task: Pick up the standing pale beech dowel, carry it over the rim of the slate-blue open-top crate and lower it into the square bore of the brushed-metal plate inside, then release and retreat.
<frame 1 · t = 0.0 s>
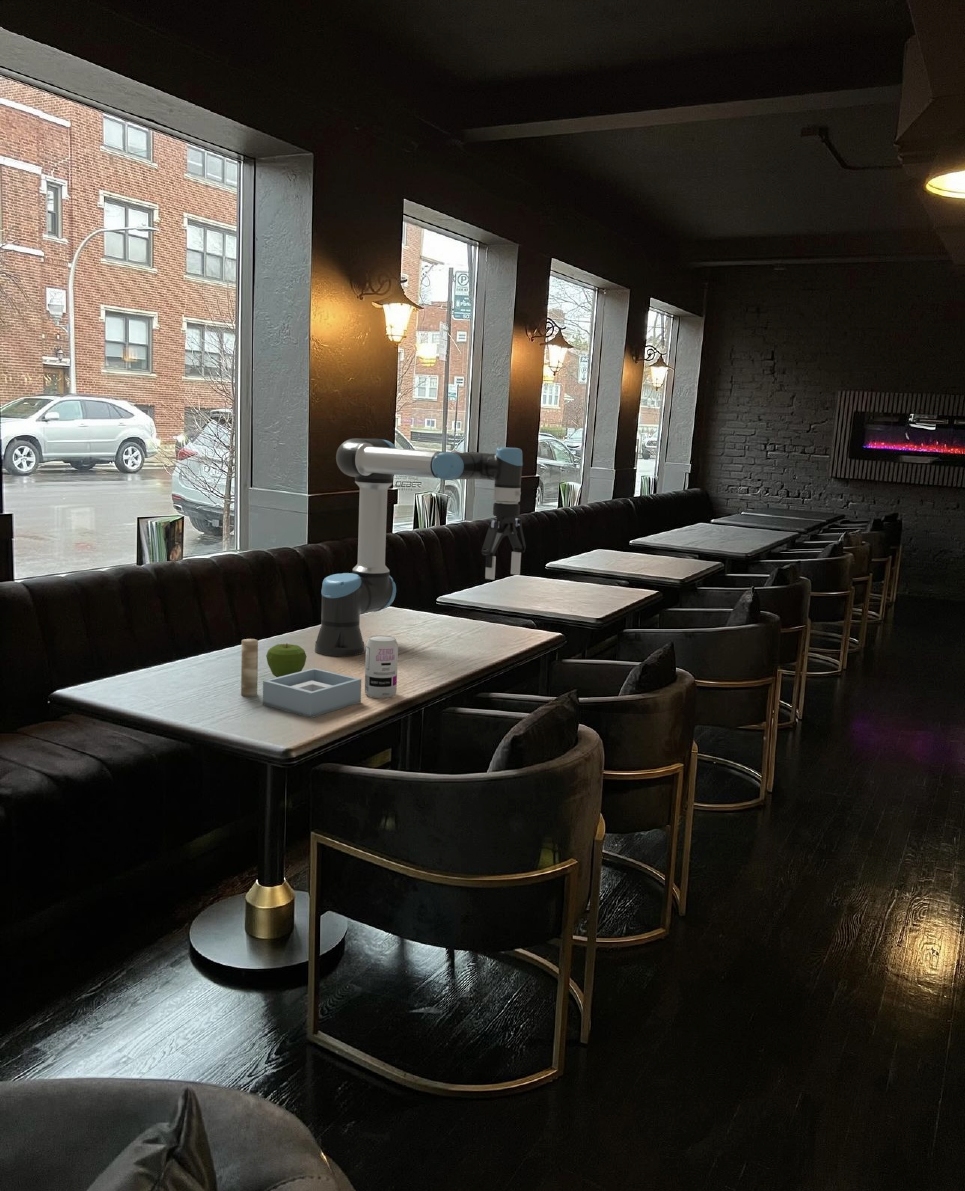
hand: (502, 576, 276), 28 cm above the table, fingers open, 13 cm apart
apple: (286, 679, 261), on the table
peg: (249, 694, 245), on the table
crate: (312, 703, 240), on the table
supplement can: (380, 695, 251), on the table
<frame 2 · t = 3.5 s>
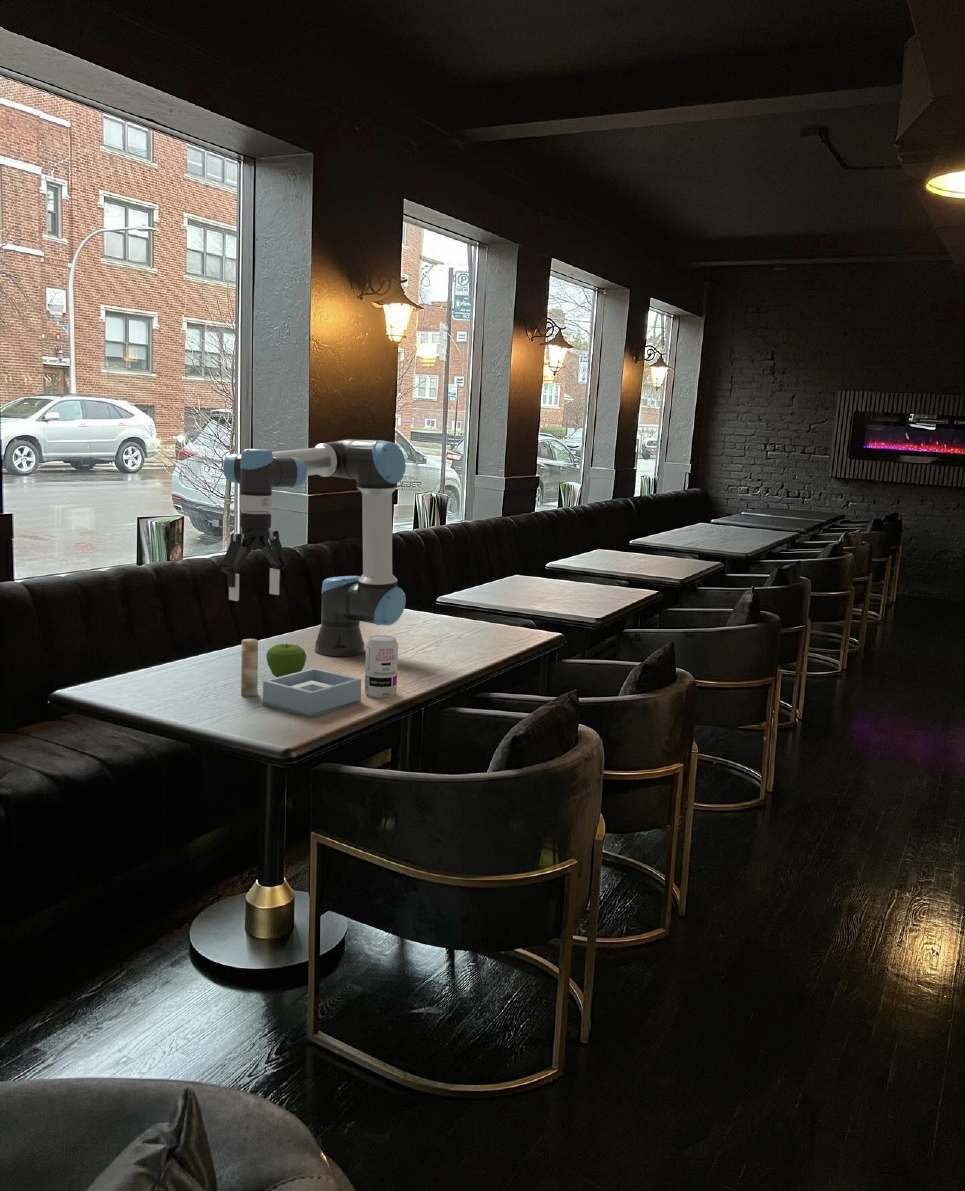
hand: (254, 597, 241), 25 cm above the table, fingers open, 13 cm apart
nothing on the table moved.
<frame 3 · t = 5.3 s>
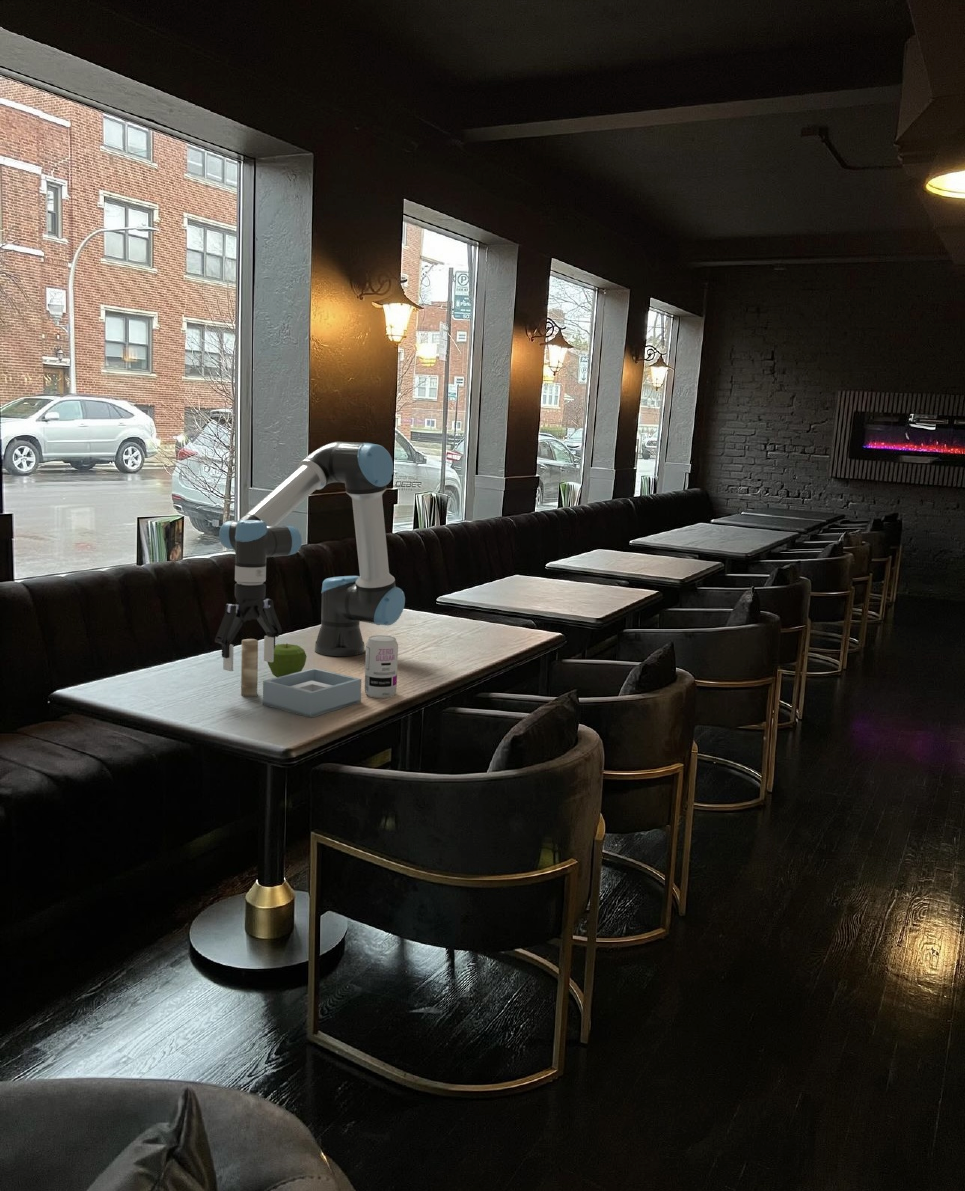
hand: (248, 665, 243), 8 cm above the table, fingers open, 13 cm apart
nothing on the table moved.
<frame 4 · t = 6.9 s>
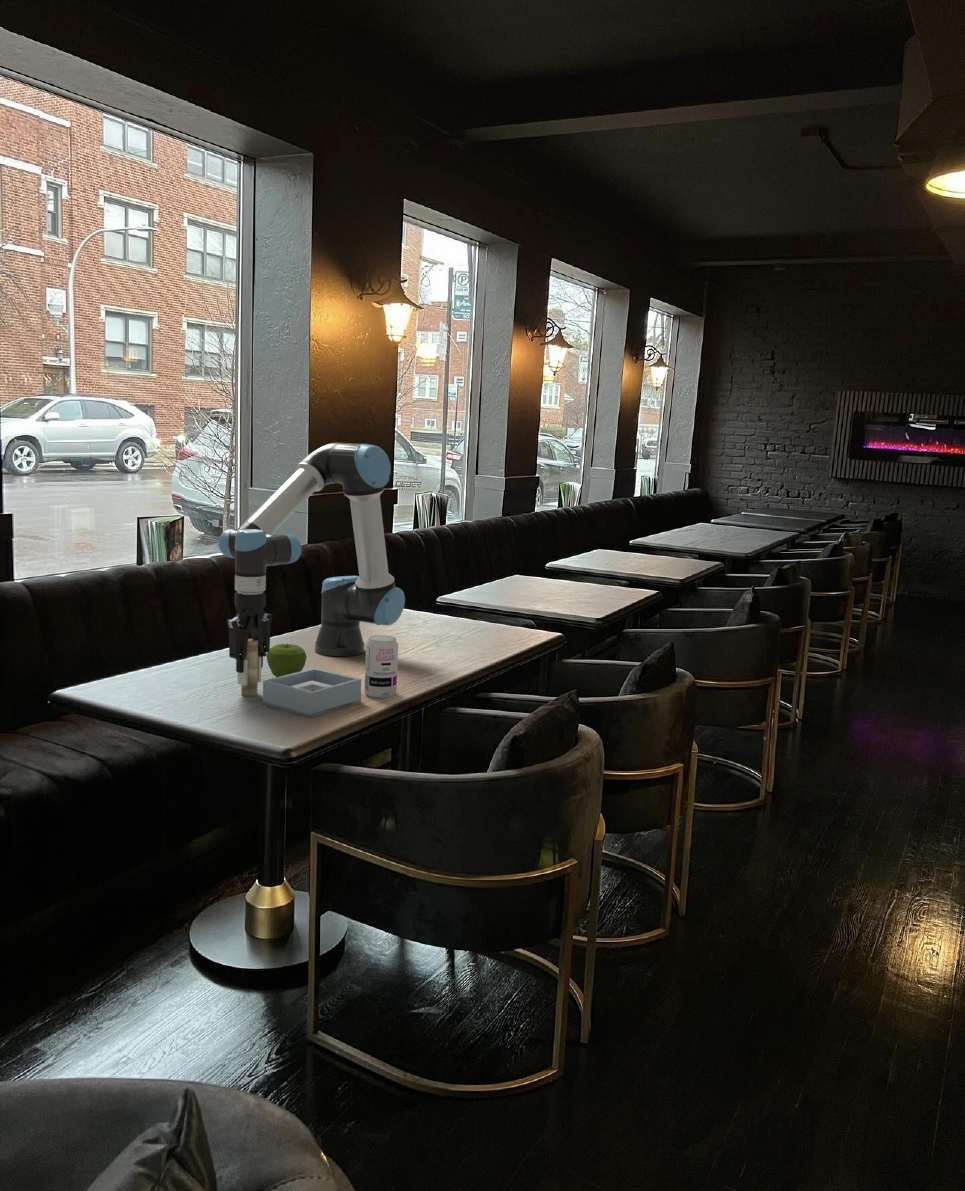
hand: (249, 682, 244), 3 cm above the table, fingers closed on peg, 4 cm apart
peg: (249, 694, 245), on the table, touching gripper
everything else where it was.
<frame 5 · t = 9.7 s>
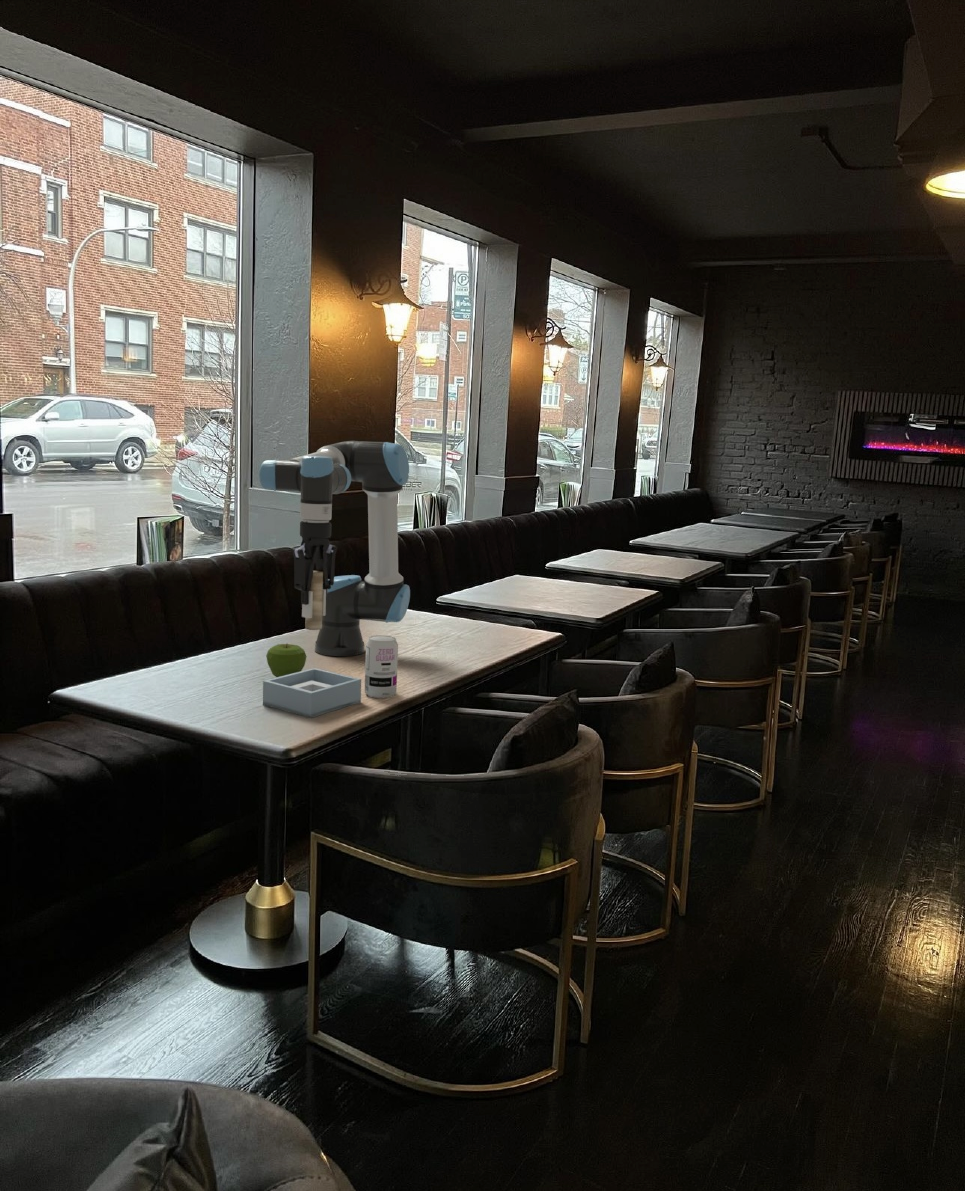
hand: (313, 615, 236), 22 cm above the table, fingers closed on peg, 4 cm apart
peg: (313, 628, 237), point 19 cm above the table, touching gripper
everything else where it was.
when the fingers open (6 cm above the table, at t = 12.5 s): peg drops 2 cm, resting on crate.
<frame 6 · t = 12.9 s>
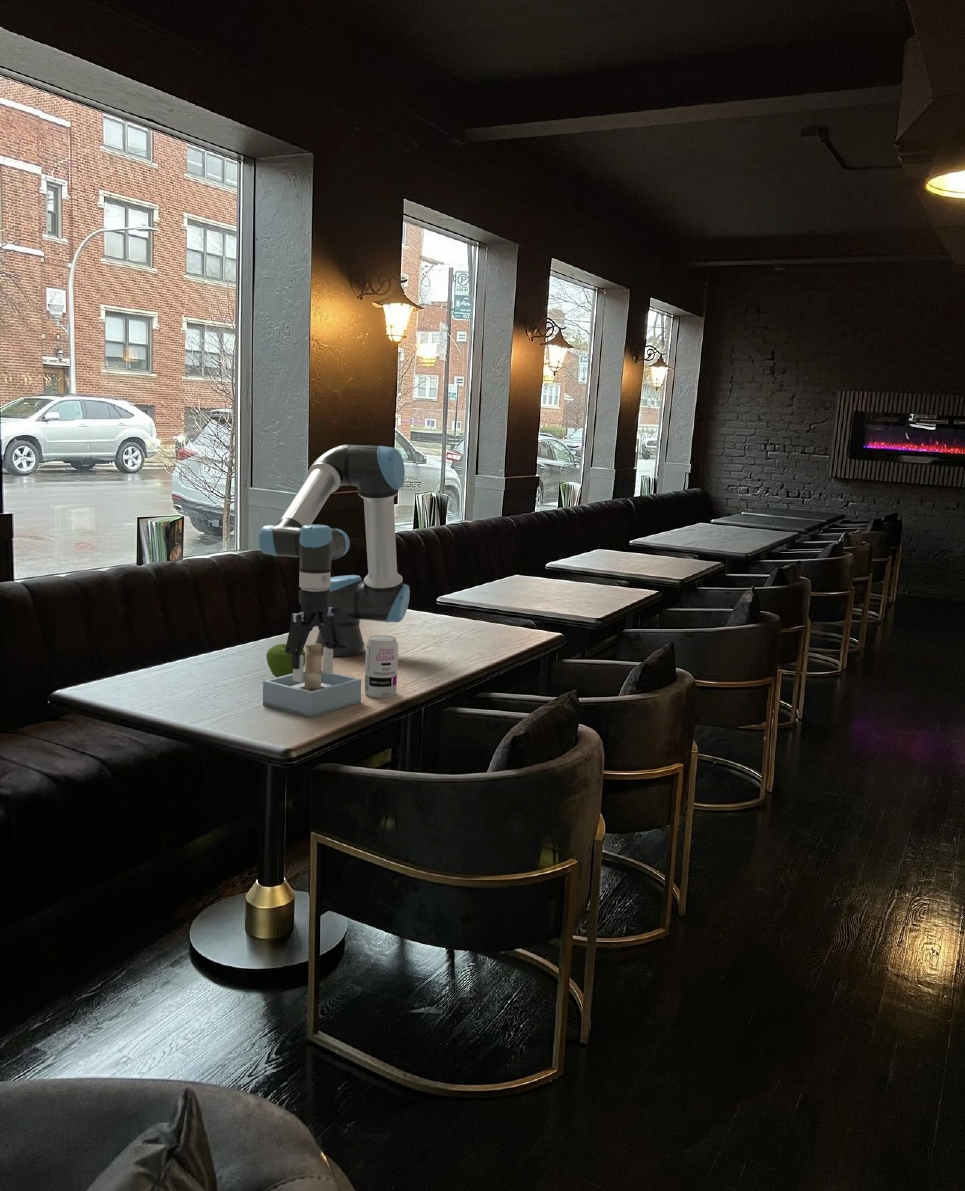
hand: (312, 677, 239), 7 cm above the table, fingers open, 10 cm apart
peg: (312, 700, 240), point 1 cm above the table, touching crate
everything else where it was.
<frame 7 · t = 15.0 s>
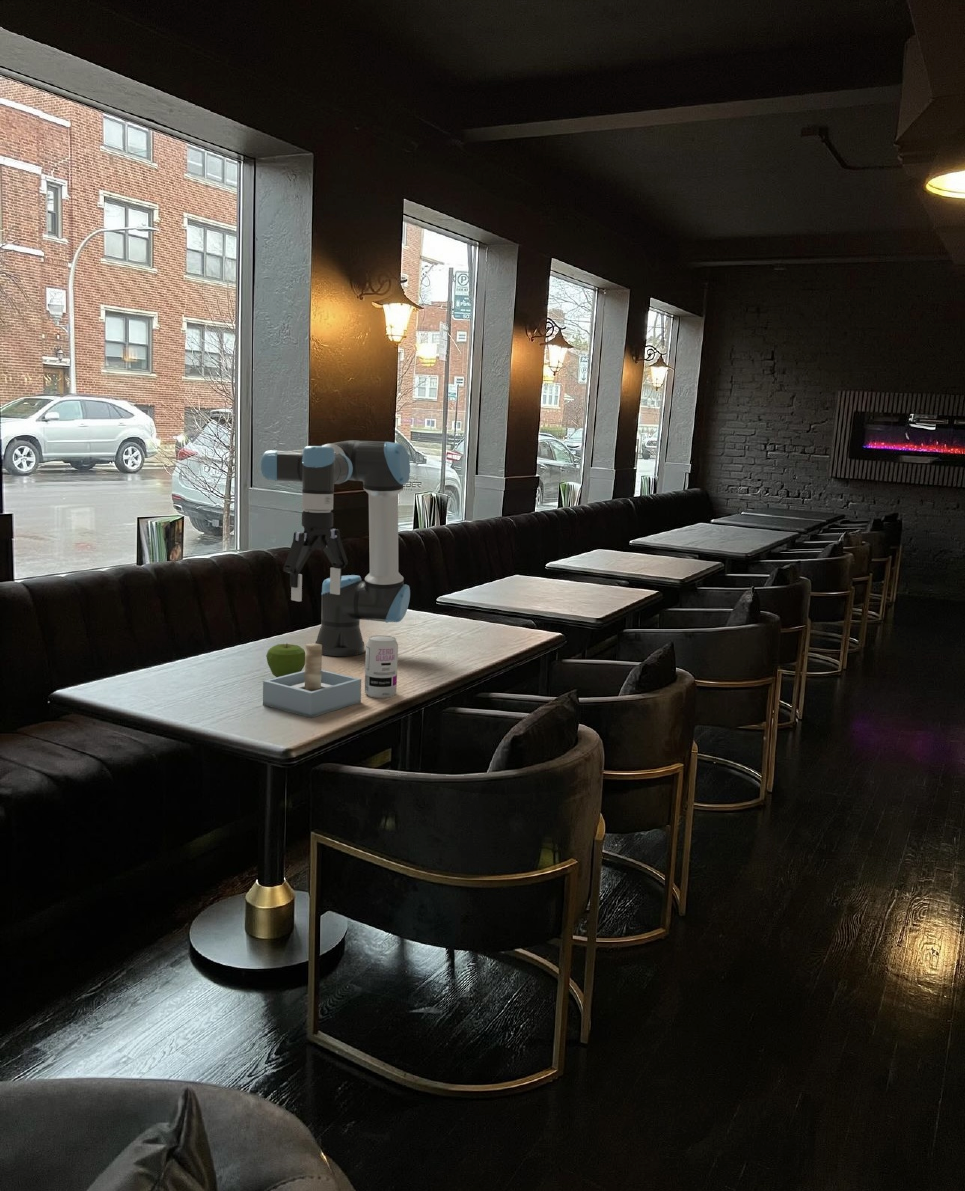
hand: (316, 597, 236), 27 cm above the table, fingers open, 13 cm apart
nothing on the table moved.
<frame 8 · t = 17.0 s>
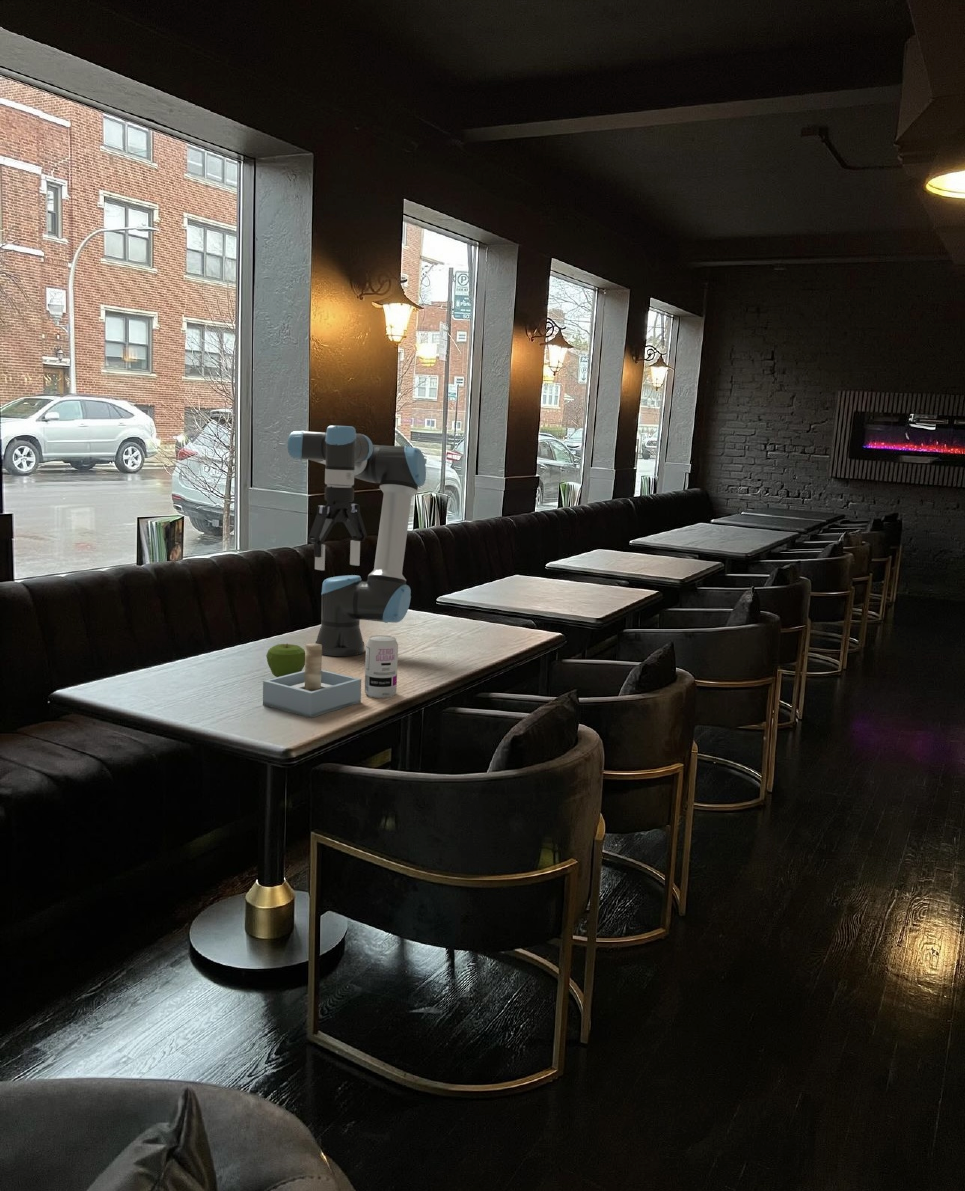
hand: (337, 567, 253), 32 cm above the table, fingers open, 13 cm apart
nothing on the table moved.
at the end: peg 0.0 cm off-centre on the crate, point 0.8 cm above the crate's base; peg tilted 0°; the gripper is holding nothing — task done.
